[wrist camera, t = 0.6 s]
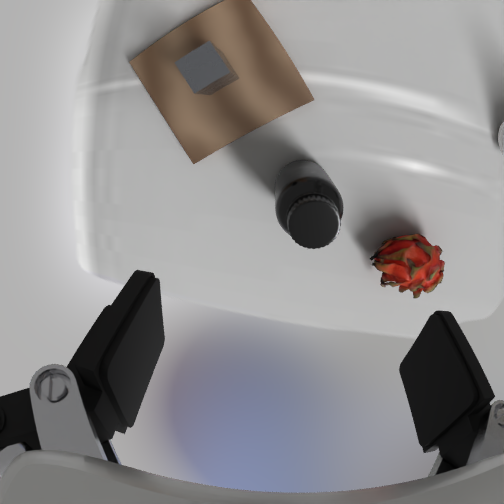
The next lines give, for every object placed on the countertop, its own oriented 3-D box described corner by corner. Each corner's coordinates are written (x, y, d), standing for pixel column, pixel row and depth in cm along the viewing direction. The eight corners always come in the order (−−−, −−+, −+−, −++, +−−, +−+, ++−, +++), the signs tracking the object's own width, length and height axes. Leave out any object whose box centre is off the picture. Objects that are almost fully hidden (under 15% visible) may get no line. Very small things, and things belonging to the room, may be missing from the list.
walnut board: (244, -5, 24) (243, -9, 23) (312, 100, 30) (314, 99, 29) (134, 63, 29) (129, 62, 27) (196, 161, 35) (193, 164, 34)
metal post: (222, 52, 27) (209, 40, 21) (239, 78, 28) (230, 72, 22) (194, 69, 28) (174, 62, 22) (210, 95, 29) (194, 93, 23)
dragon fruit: (429, 257, 40) (363, 239, 42) (457, 231, 33) (383, 208, 34) (428, 308, 37) (357, 292, 38) (460, 289, 29) (380, 269, 31)
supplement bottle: (266, 199, 37) (262, 242, 26) (288, 150, 33) (294, 173, 23) (315, 219, 37) (329, 268, 27) (338, 173, 34) (365, 206, 24)
